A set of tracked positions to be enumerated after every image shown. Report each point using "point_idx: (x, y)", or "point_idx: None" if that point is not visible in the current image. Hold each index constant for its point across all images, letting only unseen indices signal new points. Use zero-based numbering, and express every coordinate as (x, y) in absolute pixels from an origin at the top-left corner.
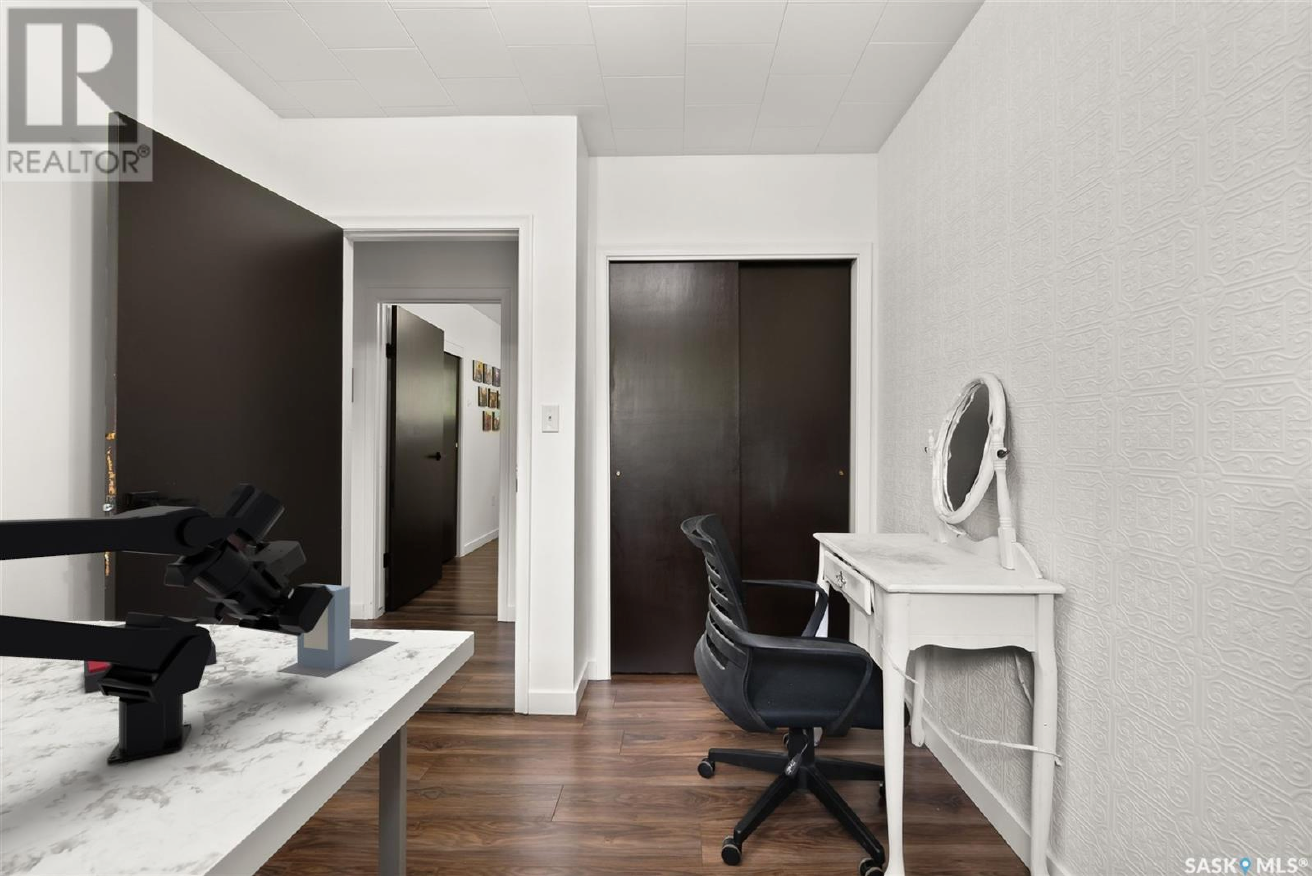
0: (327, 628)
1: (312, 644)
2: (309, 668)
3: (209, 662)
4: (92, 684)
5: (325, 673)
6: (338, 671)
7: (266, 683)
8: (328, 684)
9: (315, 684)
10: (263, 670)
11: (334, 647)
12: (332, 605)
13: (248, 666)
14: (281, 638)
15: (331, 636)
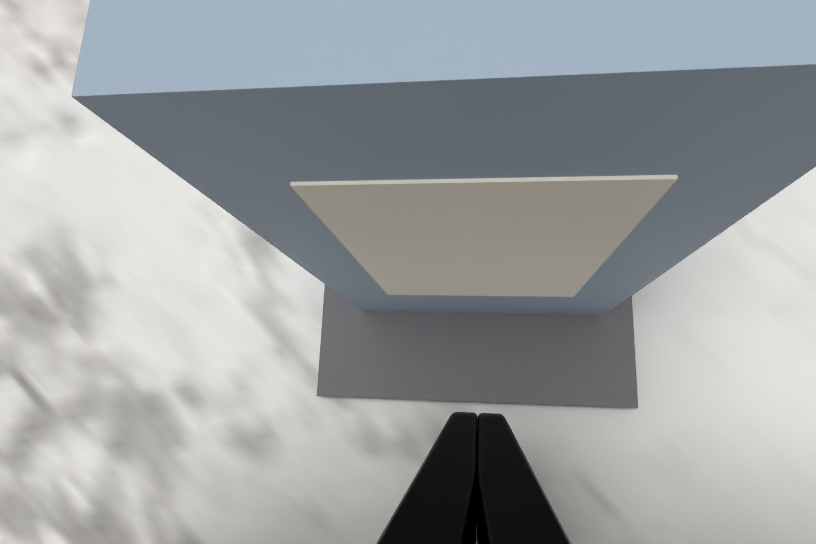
0: (603, 262)
1: (453, 291)
2: (449, 324)
3: None
4: None
5: (590, 362)
6: (631, 319)
7: (364, 511)
8: (693, 451)
9: (624, 466)
10: (220, 370)
11: (634, 291)
12: (755, 181)
13: (115, 345)
14: (12, 33)
15: (625, 273)
